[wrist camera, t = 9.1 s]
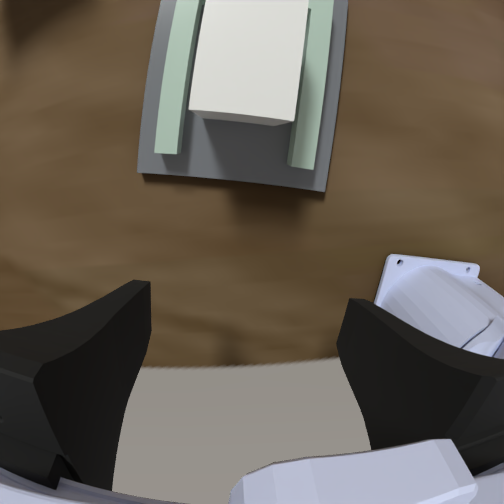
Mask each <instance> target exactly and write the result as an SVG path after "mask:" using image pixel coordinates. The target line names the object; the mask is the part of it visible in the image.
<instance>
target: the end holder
mask: <svg viewBox="0 0 504 504" xmlns="http://www.w3.org/2000/svg"><path fill="white" fill-rule="evenodd" d="M205 2H206V0H161V4H160V8H159V13H158V18H157V23H156V28H155V33H154V38H153V43H152V49H151V55H150V61H149V67H148V74H147V80H146V88H145V95H144V103H143V111H142V120H141V130H140V141H139V153H138V166H137V173H152V174H166V175H180V176H192V177H203V178H214V179H224V180H234V181H243V182H252V183H261V184H269V185H277V186H285V187H293V188H300V189H307V190H314V191H321V192H325V188H326V182H327V176H328V169H329V163H330V156H331V150H332V143H333V136H334V129H335V122H336V114H337V107H338V99H339V90H340V82H341V73H342V64H343V54H344V44H345V33H346V21H347V8H348V0H309V4H308V13H307V21H306V30H305V39H304V47H303V55H302V64H301V72H300V80H299V88H298V95H297V103H296V111H295V118H294V121H293V122H289V123H285V124H281V125H277V126H269V125H261V124H254V123H245V122H236V121H227V120H216V119H204V118H201V117H200V116H198V115H196V114H195V113H193V112H192V111H190V110H189V101H190V94H191V86H192V79H193V72H194V66H195V59H196V53H197V47H198V41H199V35H200V29H201V23H202V18H203V12H204V7H205Z"/></svg>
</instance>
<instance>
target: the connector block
mask: <svg viewBox="0 0 504 504" xmlns="http://www.w3.org/2000/svg"><path fill="white" fill-rule="evenodd" d="M308 4H309V0H206V2H205V7H204V12H203V18H202V23H201V29H200V35H199V41H198V47H197V53H196V59H195V66H194V72H193V79H192V86H191V94H190V101H189V110H190V111H192V112H193V113H195V114H196V115H198V116H200V117H201V118H204V119H216V120H227V121H236V122H245V123H254V124H261V125H269V126H277V125H281V124H285V123H289V122H293V121H294V118H295V111H296V103H297V95H298V88H299V80H300V72H301V64H302V55H303V47H304V39H305V30H306V21H307V13H308Z"/></svg>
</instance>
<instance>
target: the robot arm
mask: <svg viewBox="0 0 504 504" xmlns="http://www.w3.org/2000/svg"><path fill="white" fill-rule="evenodd" d="M398 260H401V262H400V263H399V264H397V262H398ZM466 269H467V270H466ZM479 270H480V267H479V265H477V264H475V263H467V262H458V261H450V260H442V259H433V258H425V257H416V256H408V255H399V254H391V255H389V256H388V257H387V259H386V262H385V266H384V269H383V273H382V277H381V280H380V284H379V287H378V291H377V294H376V297H375V301H374V303H372V302H370V301H367V300H365V299H353V298H349V302H348V305H347V309H346V312H345V316H344V319H343V323H342V326H341V330H340V333H339V336H338V339H337V343H336V344H337V349H338V353H339V357H340V361H341V364H342V367H343V369H344V372H345V374H346V377H347V379H348V381H349V383H350V386H351V388H352V390H353V393H354V395H355V398H356V400H357V402H358V405H359V407H360V409H361V412H362V415H363V418H364V421H365V425H366V429H367V432H368V436H369V440H370V445H371V450H370V451H363V452H355V453H348V454H338V455H327V456H316V457H315V456H314V457H303V458H298V459H292V460H286V461H280V462H273V463H271V464H269V465H267V466H264V467H262V468H260V469H257V470H255V471H252V472H250V473H247V474H246V475H245V476H243V477H242V478H241V480H240V481H239V482H238V483H237V484H236V485H235V486H234V488H233V489H232V490H231V493H230V498H229V503H228V504H504V297H503V296H501V295H500V294H499V293H497V292H496V291H495V290H493V289H492V288H491V287H489V286H488V285H486V284H485V283H484V282H482V281H481V280H480V279H478V278H477V277H478V274H479ZM151 331H152V330H151V287H150V282H149V281H140V280H132V281H130V282H128V283H126V284H125V285H123V286H121V287H119V288H118V289H116V290H114V291H112V292H111V293H109V294H107V295H105V296H104V297H102V298H100V299H98V300H96V301H94V302H92V303H90V304H89V305H87V306H85V307H83V308H81V309H79V310H76V311H74V312H72V313H69V314H67V315H64V316H61V317H59V318H56V319H53V320H49V321H46V322H42V323H39V324H35V325H31V326H27V327H22V328H16V329H10V330H2V331H0V504H185V503H177V502H169V501H161V500H155V499H149V498H143V497H137V496H132V495H127V494H122V493H117V492H113V491H112V484H113V474H114V468H115V461H116V454H117V448H118V442H119V437H120V432H121V427H122V422H123V418H124V413H125V409H126V406H127V402H128V399H129V396H130V393H131V391H132V388H133V386H134V383H135V380H136V378H137V375H138V373H139V370H140V368H141V365H142V362H143V360H144V357H145V355H146V352H147V348H148V344H149V339H150V335H151Z"/></svg>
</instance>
